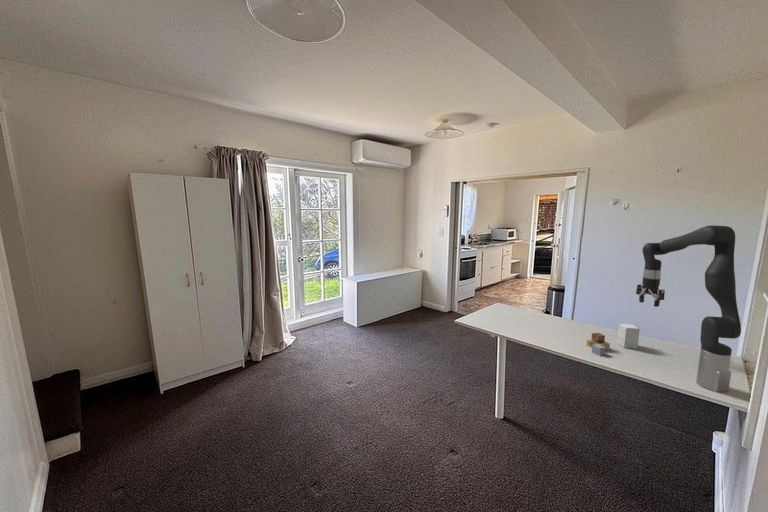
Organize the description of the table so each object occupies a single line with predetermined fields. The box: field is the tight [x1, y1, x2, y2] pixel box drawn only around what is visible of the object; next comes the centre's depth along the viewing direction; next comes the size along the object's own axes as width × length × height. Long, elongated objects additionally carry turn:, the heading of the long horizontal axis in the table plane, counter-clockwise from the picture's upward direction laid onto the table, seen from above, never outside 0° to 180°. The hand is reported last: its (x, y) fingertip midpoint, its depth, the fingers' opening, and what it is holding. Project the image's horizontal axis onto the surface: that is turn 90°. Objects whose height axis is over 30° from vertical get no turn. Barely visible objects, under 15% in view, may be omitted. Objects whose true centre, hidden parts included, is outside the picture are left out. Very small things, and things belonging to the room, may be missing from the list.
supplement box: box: [616, 323, 640, 350], centre depth 179 cm, size 7×7×13 cm
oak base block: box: [586, 338, 611, 351], centre depth 178 cm, size 8×8×4 cm
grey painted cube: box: [591, 344, 606, 357], centre depth 170 cm, size 4×4×4 cm
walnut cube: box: [590, 332, 606, 343], centre depth 177 cm, size 4×4×4 cm
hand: (648, 304), depth 172 cm, fingers open, 8 cm apart
